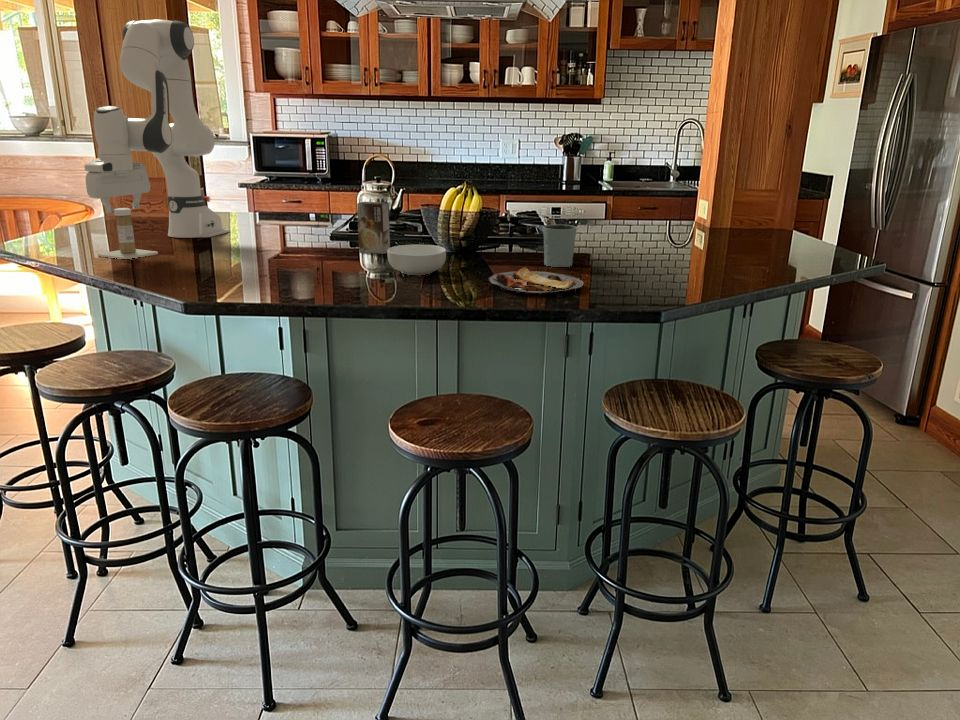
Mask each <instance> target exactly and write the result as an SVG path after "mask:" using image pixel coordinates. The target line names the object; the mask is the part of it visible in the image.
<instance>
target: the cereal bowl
mask: <svg viewBox="0 0 960 720" xmlns="http://www.w3.org/2000/svg"><path fill="white" fill-rule="evenodd" d="M386 255H387V260H388V263H389V265H390V266H391V267H392V268H393V269H394V270H396V271H398V272H401V273H402V274H403V275H405V274H408V275H407V276H409V275H425V274H429V275H431V274H432V273H433V272H435V271H438V270H439V269H441V268H442V266H443V265H445V263H446V260H447V259H446V258H447V250H446V248H445V247H443V246H438V245H433V244H401V245H395V246H392V247H391V246H390V248H389V249H388V250H387V253H386ZM430 273H431V274H430Z"/></svg>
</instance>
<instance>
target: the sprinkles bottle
mask: <svg viewBox="0 0 960 720" xmlns="http://www.w3.org/2000/svg"><path fill="white" fill-rule="evenodd" d="M131 209H132V208H129V207H119V208H118V207H117V208H114V209H113V210H114V212H113V213H114V216H115V220H116V221H115V223H116V230H117V238H118V243H119V250H120V252H121V253H134V252H136V249H137V248H136V244H135V236H134V229H133V223H132V210H131Z"/></svg>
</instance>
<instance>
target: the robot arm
mask: <svg viewBox="0 0 960 720" xmlns="http://www.w3.org/2000/svg"><path fill="white" fill-rule="evenodd" d="M121 45H122V46H121V51H120V55H119V69H120V71H121V73H122V75H123V76H124V77H125V79H126V80H127V81H129V82H130V83H131V84H132V85H134V86H136V87H138V88H140V89H144V90H146V91H147V92H149V93H150V99H151V100H150V101H151V103H150V104H151V114H150V116H148V117H146V118H144V117H143V118H141V117H140V118H137V117H136V118H134V117H129V116H126V115H125V114H124V111H123V108H122V107H120V106H115V105H113V106H112V105H106V106H100V107H97V108H96V109H95V110H94V112H93V130H94V135H95V140H96V142H97V146H98V147H97V148H98V151H97V154H98V157H97V158H95V159H93V160H90V161H89V162H86V163H85V164H84V170H85V172H86V175H85V186H86V187H85V188H86V192H87V195H88V197H89V198H90V199H96V200H99V199H100V202H101V204H102V205H103V206H104V207H105V213H107V214H111V213H114V209H115V208H114V206H112V205H111V204H110V203H109V202H110V201H111V200H110V198H114V197H122V196H123V197H124V196H129V195H130V196H131V195H132V198H133V202H131V203H130V204H131V209H133V210H138V209H140V208H141V206H140V202H141V200H142V194H145V193H146V194H147V193H150V191H151V183H150V178H149V174H148V173H147V168H146V165H145V164H143V163H142V162H141V161H137V162H133V159H132V152H131V151H133V152H149V153H151V154H152V155H153V156H154V157H155V158H156V159H157V160H158V162H159V164H160V166H161V167H162V170H163V173H164V177H165V181H166V183H165V184H166V189H167V196H166V198H167V200H166V201H167V206H168V209H169V210H168V211H169V213H168V233H167V236H168V237H170V238H181V239H183V238H185V239H186V238H189V239H190V238H212V237H214V236H219V235H222V234H226V233H230V229H229V228H226V227H225V228H224V227H223V224H222V223H223V222H222V219H221V217H220V215H219V213H218V214H217V213H216V212H215V211H213V210H212V209H211V208H210V207H208V206H207V205H206V204H207V203H211V200H210V199H211V197H210V196H209V195H208V196H206V195H205V196H203V195H202V190H201V181H200V180H201V179H200V175H199V172H197V170H195V169H194V168H193V167H192V166H190V165H189V164H188V162H187V161H186V158H185V157H201V156H206V155H209V154H211V153H212V152H213V150H214V147H215V142H216V141H215V140H216V139H215V135H214V133H213V131H212V130H211V128H210V127H208V126H207V125H205V124H204V122H203V120H201V118H200V116H199V114H198V112H197V111H196V108H195V103H194V96H193V89H192V86H193V85H192V75H191V70H190V65H189V60H188V58H189V55H191V53H192V52H193V49H194V47H195V39H194V33H193V31H192V29H191V27H190V26H189V25H188V24H187V22H184V21H180V20H176V19H175V20H168V19H159V18H158V19H144V20H139V19H138V20H131V21H128V22H126V23H125V25H124V26H123V28H122V44H121ZM170 115H171V117H172V120H173V122H170V121H171V119H170ZM206 202H207V203H206Z"/></svg>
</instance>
